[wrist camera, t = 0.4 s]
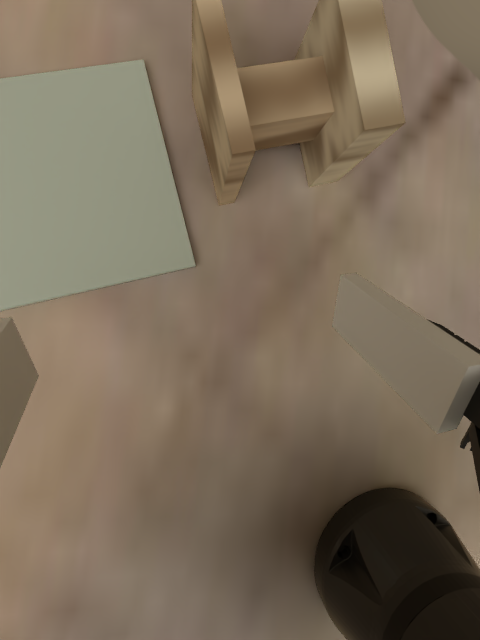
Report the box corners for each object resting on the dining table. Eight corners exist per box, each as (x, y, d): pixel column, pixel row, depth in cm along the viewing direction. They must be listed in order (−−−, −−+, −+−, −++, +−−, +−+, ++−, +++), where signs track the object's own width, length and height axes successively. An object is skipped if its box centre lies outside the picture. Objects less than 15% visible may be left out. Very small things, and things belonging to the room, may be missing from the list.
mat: (195, 266, 29) (195, 265, 28) (-13, 314, 27) (-19, 314, 26) (144, 66, 28) (143, 59, 27) (-80, 97, 25) (-89, 90, 24)
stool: (337, 181, 31) (405, 122, 21) (218, 205, 29) (232, 154, 19) (314, 77, 30) (374, -36, 20) (192, 96, 28) (192, -17, 19)
